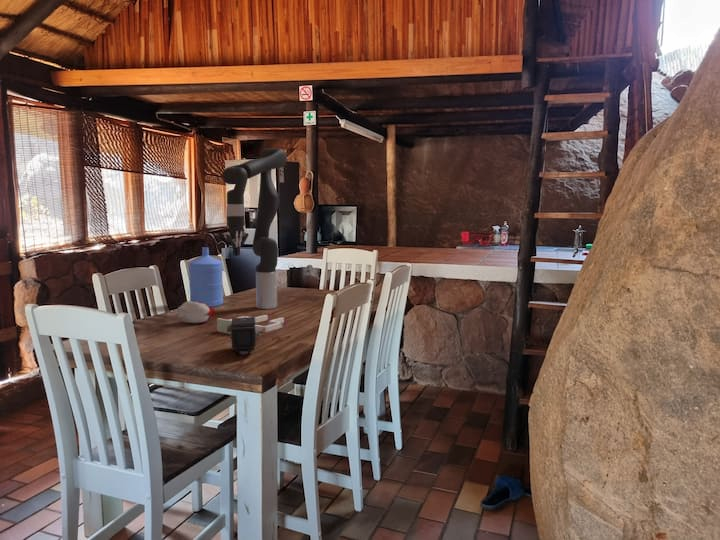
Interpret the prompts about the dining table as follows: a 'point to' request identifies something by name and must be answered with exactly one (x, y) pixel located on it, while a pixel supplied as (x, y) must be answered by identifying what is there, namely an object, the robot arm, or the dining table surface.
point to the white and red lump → (194, 312)
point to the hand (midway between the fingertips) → (236, 255)
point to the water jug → (206, 280)
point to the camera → (243, 334)
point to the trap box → (271, 325)
